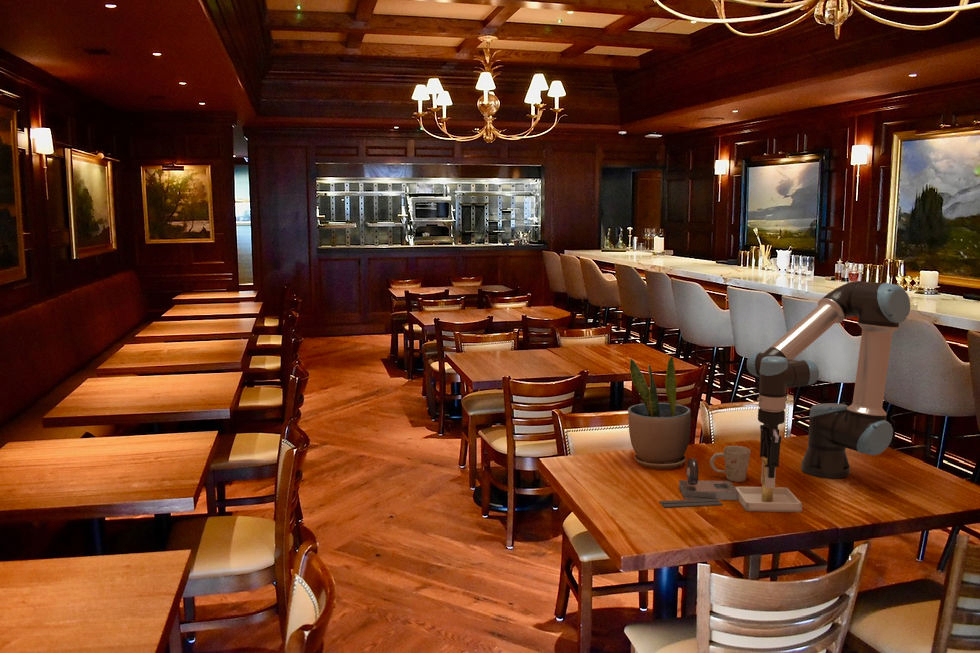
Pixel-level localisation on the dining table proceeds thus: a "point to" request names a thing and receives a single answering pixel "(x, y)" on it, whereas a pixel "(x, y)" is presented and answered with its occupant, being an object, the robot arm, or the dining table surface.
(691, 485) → the block
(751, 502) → the tray
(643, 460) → the potted plant
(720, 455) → the mug
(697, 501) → the pair of grey strips
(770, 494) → the pin
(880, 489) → the dining table surface
